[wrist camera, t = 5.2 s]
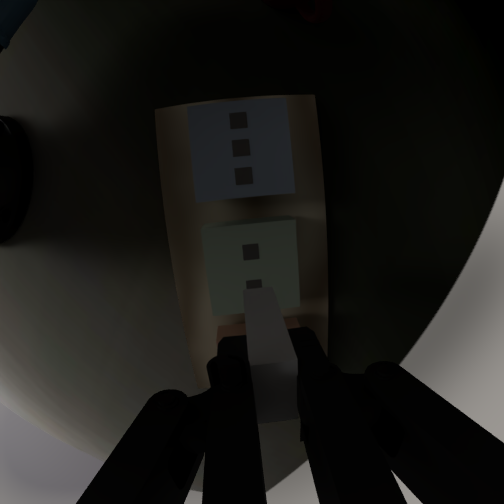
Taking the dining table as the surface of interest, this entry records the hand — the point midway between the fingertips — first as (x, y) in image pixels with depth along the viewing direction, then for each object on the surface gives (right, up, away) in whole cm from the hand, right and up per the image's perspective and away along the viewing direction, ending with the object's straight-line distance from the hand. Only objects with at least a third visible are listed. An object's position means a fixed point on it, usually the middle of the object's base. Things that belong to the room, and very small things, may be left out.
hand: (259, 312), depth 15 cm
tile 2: (-1, +2, +10) cm, 10 cm away
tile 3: (-1, +11, +7) cm, 13 cm away
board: (-1, +3, +12) cm, 12 cm away
